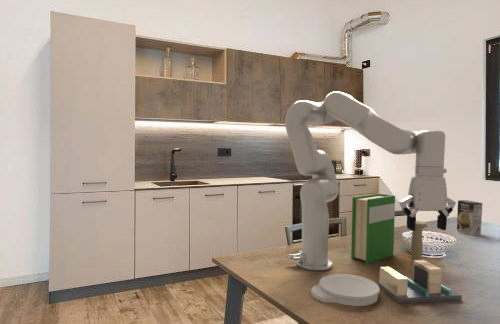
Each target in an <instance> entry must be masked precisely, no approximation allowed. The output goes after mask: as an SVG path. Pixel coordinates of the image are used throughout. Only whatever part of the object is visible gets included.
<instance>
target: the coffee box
mask: <svg viewBox="0 0 500 324" xmlns="http://www.w3.org/2000/svg"><path fill="white" fill-rule="evenodd" d="M456 216H457V217H456V232H459V233H463V234H466V235H470V236H478V235H479V236H480V234H482V220H483V219H482V216H483V203H482V202H478V201H472V200H462V199H460V200H457V215H456Z"/></svg>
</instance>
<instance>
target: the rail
mask: <svg viewBox="0 0 500 324" xmlns="http://www.w3.org/2000/svg"><path fill="white" fill-rule="evenodd" d="M377 285H378V286H379V289H380V290H381V291H382V292H384V293H385V294H387V295H388V296H389V297H390V298H391V299H392V300H394V301H395V302H396V303H398V304H400V305H402V304H419V303H420V304H421V303H436V302H439V303H440V302H457V301H458V302H459V301H462V299H463V295H462V294H461V293H459V292H457V291H455V290H453V288H451V287H448V286H447V285H445V284H444V283H442V282H441V293H433V294H429V291H428V290H426V289H425V288H423V287H422V286H420V285H418V284H417V283H415V282H414V281H413V279H411V278H410V277H407V276H406V275H403V274H401V273H400V272H398V271H397V270H395V269H393V267H391V266H379V281H377Z"/></svg>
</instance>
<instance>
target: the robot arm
mask: <svg viewBox="0 0 500 324" xmlns="http://www.w3.org/2000/svg"><path fill="white" fill-rule="evenodd" d="M284 119H285V120H284V126H285V130H286V134H287V136H288V139H289V143H290V146H291V147H290V148H291V150H292V155H293V157H294V162H295V165H296V169H297V171H298V173H299V174H300V175H303V176H305V177H306V176H308V177H309V176H311V177H312V178H309V179H308V180H306V181H305V182H304V183H303V184H302V185H301V187H300V191H299V197H300V204H301V250H299V251H298V252H297V253H288V256H287V257H288V260H293V261H294V262H296V264H297V265H298V267H300V268H302V269H305V270H309V271H318V272H319V271H327V270H330V269H331V268H332V267H333V262H332V261H331V260H330V259H329V232H330V231H329V228H330V227H329V225H330V224H329V223H330V222H329V220H330V219H329V218H330V215H329V209H328V205H327V204H328V203H330V202H332V201H334V200H335V199H336V198H337V197H338V196H339V192H340V187H339V182H338V179H337V175H336V172H335V167H334V164H333V162H332V159H331V157H330V155H328V153H327V152H325V151H324V150H321V149H317V147H316V143H315V140H314V136H313V135H312V132H311V131H310V129H309V127H308V125H310V126H311V125H312V126H321V125H326V124H329V123H333V122H337V121H340V122H341V123H343V124H345V125H346V126H348V127H349V128H351V129H353V130H355V131H356V132H358V133H359V134H360V135H361V136H363V137H364V138H366V139H367V140H368V141H370V142H371V143H373V144H375V145H376V146H378V147H380V148H382V150H385V151H386V152H388V153H390V154H394V155H412V154H415V164H414V165H415V166H414V167H415V168H414V175H412V176H411V178H410V182H409V183H410V184H409V188H408V194H407V197H405V198H403V199H401V200H400V201H399V203H398V204H399V206H400V208H401V210H402V212H403V213H404V214H405V216H406V228H407V230H410V231H415V226H416V221H417V220H416V219H417V218H416V217H415V215H416V214H417V213H418V212H432V211H433V212H437V213H438V215H437V218H436V228H437V229H439V230H442V231H446V229H447V222H448V221H447V220H448V217H449V216H450V214H451V213H452V212H453V210H454V208H455V205H456V204H457V201H454V200H453V199H451V198H449V197H448V189H447V181H446V177H444V174H447V172H448V171H447V168H445V151H446V150H445V148H446V134H445V132H444V131H441V130H430V129H429V130H420V131H415V130H414V131H413V130H407V129H402V128H400V127H397V126H396V125H394V124H392V123H390V122H388V120H385V119H384V118H382V117H380V116H379V115H378V114H377V113H376V111H375V110H374V109H373V108H371V107H369V106H367V105H366V104H363V103H362V102H360V101H358V100H356V99H355V97H353V96H352V95H351V94H348V93H345V92H342V91H338V90H337V91H332V92H330V93H328V94H327V95H326V96H325V97H324V99H323V101H321V102H315V101H312V100H311V101H310V100H306V99H305V100H297V101H295V102H294V103H292V104H291V105H290V107H289V108H288V109H287V111H286V115H285V118H284Z"/></svg>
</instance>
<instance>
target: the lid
mask: <svg viewBox="0 0 500 324" xmlns="http://www.w3.org/2000/svg"><path fill="white" fill-rule="evenodd" d="M380 291H381V289H380V288H379V286H378V283H376V282H375V281H373V280H371V279H370V278H367V277H365V276H360V275H356V274H349V273H334V274H333V273H332V274H328V275H324V276H322V278H320V279H319V282H318V284H316V285H313V286H312V288H311V290H310V293H311V296H312V298H314V299H315V298H316V299H315V300H317V301H319V300H320V301H319V302H322V303H332V304H333V303H334V304H341V305H345V306H351V307H352V306H353V307H362V306H370V305H372V304H375V303H376V302H377V301H378V299H379V294H380Z"/></svg>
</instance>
